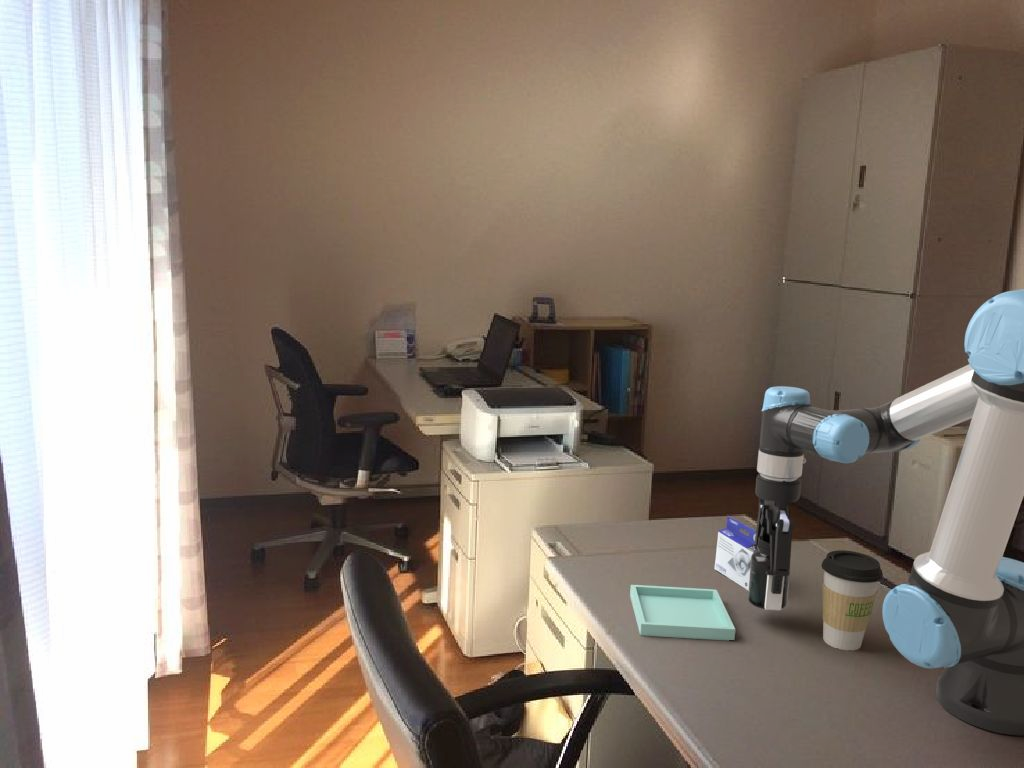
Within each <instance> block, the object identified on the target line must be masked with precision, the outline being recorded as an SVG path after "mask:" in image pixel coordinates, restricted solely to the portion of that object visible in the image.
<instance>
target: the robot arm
mask: <svg viewBox="0 0 1024 768" xmlns="http://www.w3.org/2000/svg"><path fill="white" fill-rule="evenodd" d="M964 352H965V353H966V354H967V355H968V357H969V358H967V361H968V364H967V365H965V366H963V367H960V368H957V369H956V370H954V371H952V372H949V373H947V374H945V375H943V376H942V377H939V378H937V379H935V380H932V381H930V382H928V383H925V385H922V386H920V387H917V388H916V389H914V390H912V391H909V392H907V393H905V394H902V395H901V396H899V397H896V398H895V399H893V400H890V401H889V402H886V403H884V404H882V405H879V406H876V407H865V408H855V409H854V408H853V409H840V410H829V409H825V408H819V407H815V406H813V405H811V399H810V397H811V395H810V392H809V391H808V390H806V389H803V388H799V387H795V386H785V385H780V386H778V385H777V386H771V387H769V388H768V389H766V391H765V393H764V398H763V404H762V409H761V412H762V413H761V425H760V437H759V448H758V455H757V466H756V471H757V472H758V474H757V475H756V477H755V478H756V481H755V493H754V494H755V495H756V496H757V497H758V512H757V520H756V521H757V522H756V530H755V531H756V536H755V544H754V547H755V549H757V550H759V549H758V548H757V545H758V538H759V537H760V536H762V535H770V572H768V571H766V575H768V576H767V586H766V597H765V607H764V608H765V609H764V610H766V611H767V610H768V611H782V609H781V606H782V596H783V586H784V576H789V574H791V565H790V561H791V556H792V542H793V540H792V538H793V532H794V531H793V530H794V526H795V522H794V520H793V519H791V511H790V510H789V505H790V504H792V503H795V502H797V501H799V499H800V497H801V490H802V480H801V478H800V477H802V474H803V467H804V466H803V464H806V462H807V459H806V458H805V456H804V455H805V452H807V453H809V454H811V455H816V456H819V457H821V458H823V459H825V460H828V461H830V462H838V463H842V464H851V463H852V464H853V463H854V462H856V461H857V460H858V459H860V458H863V457H864V455H866V454H875V453H876V454H877V453H887V452H890V453H891V452H893V453H896V452H901V451H904V450H908V449H909V450H910V449H911V448H912V449H913V447H916V446H917V445H918V444H919V442H920V441H921V439H924V438H926V437H928V436H930V435H933V434H936V433H939V432H941V431H943V430H945V429H948V428H951V427H952V426H953V427H954V426H956V425H958V424H960V423H963V422H966V421H968V420H971V421H970V423H969V428H968V430H967V433H966V436H965V439H964V442H963V446H962V449H961V451H960V452H961V453H960V456H959V457H958V462H957V464H956V469H955V472H954V474H953V477H952V481H951V483H950V488H949V490H948V493H947V496H946V499H945V502H944V505H943V508H942V513H941V515H940V519H939V522H938V525H937V528H936V531H935V534H934V536H933V537H934V538H933V540H932V543H931V547H930V550H929V551H927V552H924V553H921V554H919V555H918V556H916V557H915V559H914V561H913V564H912V567H911V571H910V573H909V575H908V579H907V582H906V583H903V584H899V585H896V586H895V587H894V588H892V589H891V590H889V591H888V592H887V594H886V595H885V597H884V600H883V604H882V609H881V610H882V621H883V625H884V628H885V631H886V632H887V634H888V636H889V640H890V641H891V643H892V645H893V646H894V648H896V651H898V652H899V654H901V656H902V657H904V658H905V659H906V660H908V661H909V662H910V663H912V664H914V665H916V666H918V667H921V668H924V669H925V668H926V669H939V668H940V669H941V668H943V670H942V671H941V673H940V674H939V676H938V678H937V681H936V688H935V697H936V700H937V701H938V703H939V704H940V705H941V706H942V707H943V708H944V709H945V710H946V711H948V712H949V714H952V715H953V716H955V717H956V718H957V719H960V720H961V721H963V722H965V723H968V724H970V725H972V726H975V727H977V728H981V729H983V730H986V731H990V732H993V733H998V734H1002V735H1011V736H1024V562H1022V561H1021V560H1020V561H1019V560H1017V559H1013V558H1010V557H1005V556H1004V552H1005V551H1006V547H1007V544H1008V541H1009V539H1010V536H1011V533H1012V530H1013V527H1014V525H1015V521H1016V519H1017V516H1018V513H1019V509H1020V507H1021V504H1022V501H1023V499H1024V288H1021V289H1017V290H1016V289H1014V290H1008V291H1004V292H1002V293H999V294H997V295H995V296H993V297H991V298H989V299H987V301H985V302H984V303H983V304H982V305H981V306H979V308H978V309H977V310H976V311H975V312H974V314H973V316H972V317H971V318H970V321H969V322H968V324H967V328H966V330H965V334H964Z"/></svg>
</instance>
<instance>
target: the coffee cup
mask: <svg viewBox="0 0 1024 768" xmlns="http://www.w3.org/2000/svg"><path fill="white" fill-rule="evenodd" d="M820 565H821V568H822V570H823V581H822V617H821V618H822V620H823V623H822V627H823V628H822V629H823V630H822V632H823V633H822V636H823V637H822V639H823V641H824V642H825V644H826V645H828V646H830V647H832V648H834V649H837V648H838V649H839V650H843V651H848V650H849V651H850V650H852V651H857V650H860V648H861V647H862V644H863V640H864V636H865V632H866V630H867V629H868V625H869V623H870V622H869V621H870V618H871V615H872V611H873V608H874V604H875V600H876V597H877V593H878V591H877V590H878V586H879V582H880V581H881V580H882V579H883V577H884V574H883V569H881V563H880V562H879V561H878V560H877V559H876V558H874V557H873V556H870V555H868V554H865V553H860V552H857V551H852V550H842V549H841V550H840V549H839V550H832V551H830V552H828V553H827V555H826V556H825V558H824V559H823V560H822V561H821V564H820Z"/></svg>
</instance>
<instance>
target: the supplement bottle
mask: <svg viewBox="0 0 1024 768" xmlns="http://www.w3.org/2000/svg"><path fill="white" fill-rule="evenodd" d="M757 548H758V549H759V550H756V551H755V552H754V553H753V554H752V556H751V563H750V576H749V590H747V591H748V593H747V600H748V602H749V604H751V605H752V606H754V607H756V608H758V609H762V610H765V608H764V607H765V597H766V586H767V576H768V575H766V571H768V572H770V535H762V536H760V537H759V538H758V545H757ZM790 566H791V560H790ZM790 574H791V573H790ZM790 574H789V576H784V586H783V596H782V606H781V610H782V609H784V608H786V606H787V605H788V601H789V600H788V597H789V589H790V588H789V586H790Z"/></svg>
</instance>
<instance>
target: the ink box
mask: <svg viewBox="0 0 1024 768" xmlns="http://www.w3.org/2000/svg"><path fill="white" fill-rule="evenodd" d="M741 530H743V531H744V530H745V532H746V533H748V534H745V533H744V532H742V531H741ZM755 536H756V530H755V529H753V528H751V526H748V525H747V524H744V523H742V522H741V521H739V520H738V519H736V518H733V517H731V516H729V515H727V516H726V526H725V527H724V528H722V529H720V530H718V532H717V543H716V553H715V560H714V562H715V563H714V567H713V568H714V570H715V571H717V572H719V573H720V574H722V575H723V576H725V577H726V578H727V579H729V580H731V581H733V582H734V583H736V584H737V585H739V586H740V587H741V588H744V589H745V590H746V591H748V590H749V576H750V563H751V556H752V554H753V553H754V552H755V551H756V550H757V549H755V547H754V544H755Z"/></svg>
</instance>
